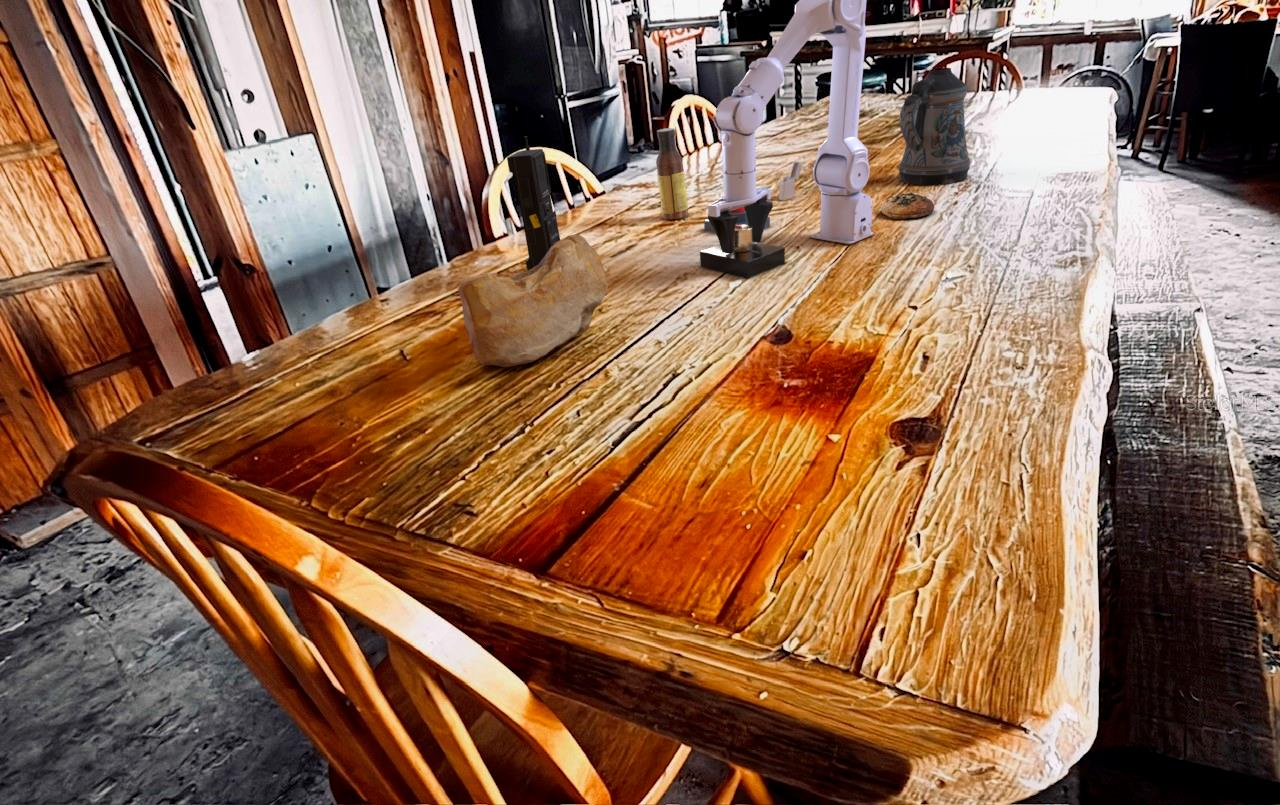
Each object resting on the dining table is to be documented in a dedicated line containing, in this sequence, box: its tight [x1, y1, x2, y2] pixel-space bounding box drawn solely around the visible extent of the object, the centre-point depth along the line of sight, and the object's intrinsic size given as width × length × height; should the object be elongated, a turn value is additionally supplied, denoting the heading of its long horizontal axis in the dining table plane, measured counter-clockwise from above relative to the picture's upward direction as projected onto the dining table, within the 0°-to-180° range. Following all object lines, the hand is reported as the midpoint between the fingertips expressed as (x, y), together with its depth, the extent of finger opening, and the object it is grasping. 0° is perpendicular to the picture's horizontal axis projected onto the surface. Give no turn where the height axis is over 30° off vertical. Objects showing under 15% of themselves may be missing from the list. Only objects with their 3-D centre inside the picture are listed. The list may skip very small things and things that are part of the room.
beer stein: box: [898, 67, 971, 186], centre depth 170 cm, size 16×19×25 cm
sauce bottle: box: [655, 127, 689, 221], centre depth 163 cm, size 7×6×20 cm
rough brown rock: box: [457, 234, 609, 368], centre depth 105 cm, size 23×17×15 cm
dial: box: [733, 225, 753, 252], centre depth 129 cm, size 4×4×4 cm
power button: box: [729, 207, 745, 213], centre depth 151 cm, size 4×4×2 cm
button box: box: [703, 211, 771, 233], centre depth 152 cm, size 11×9×4 cm
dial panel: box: [699, 242, 786, 279], centre depth 130 cm, size 12×10×3 cm
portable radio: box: [506, 135, 561, 271], centre depth 134 cm, size 8×6×25 cm
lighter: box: [778, 161, 803, 202], centre depth 172 cm, size 7×2×8 cm, turn 130°
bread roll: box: [880, 192, 935, 220], centre depth 150 cm, size 11×11×5 cm
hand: (741, 247), depth 130 cm, fingers open, 7 cm apart
